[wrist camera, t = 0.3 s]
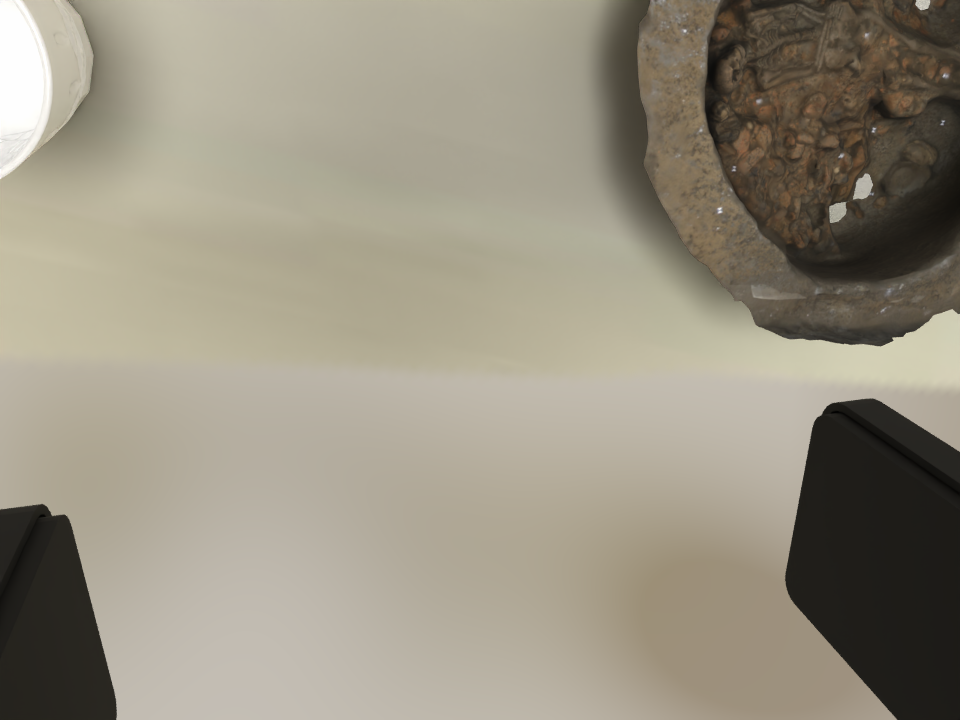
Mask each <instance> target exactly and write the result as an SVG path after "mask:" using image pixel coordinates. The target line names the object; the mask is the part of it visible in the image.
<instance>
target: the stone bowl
mask: <svg viewBox="0 0 960 720" xmlns="http://www.w3.org/2000/svg"><path fill="white" fill-rule="evenodd" d="M915 3H916V0H651V1H650V5H649V8H648V11H647V14H646V15H645V17H644V18H643V19H642V20H641V22H640V23H639V40H638V46H637V57H638V78H639V87H640V98H641V101H642V104H643V107H644V110H645V113H646V116H647V130H648V145H647V150H646V155H645V159H644V162H643V165H644V167H645V169H646V172H647V174H648V176H649V179H650V181H651V183H652V185H653V187H654V190H655V192H656V194H657V196H658V198H659V200H660V202H661V204H662V206H663V207H664V209H665V210H666V212H667V214H668V216H669V218H670V220H671V222H672V223H673V225H674V226H675V228H676V230H677V232H678V235H679V237H680V239H681V240H682V241H683V243H684V244H685V246H686V247H687V248H688V250H689V252H690V253H691V254H692V255H693V256H694V257H695V258H696V259H697V260H698V261H700V262H702V263H703V264H705V265H707V266H708V267H709V269H710V270H711V272H712V273H713V274H714V275H715V276H716V278H717V279H718V281H719V282H720V283H721V284H722V286H723V287H724V288H726V289H727V290H728V291H729V292H730V293H731V294H732V295H733V298H734V300H735V301H742V302H743V303H744V304H745V305H746V306H747V307H748V308H749V309H750V311H751V314H752V316H753V319H754V322H755V324H756V325H757V326H759V327H762V328H764V329H766V330H769V331H771V332H774V333H776V334H778V335H780V336H782V337H784V338H788V339H806V340H824V341H829V342H834V343H840V344H850V345H855V344H867V345H874V346H883V345H885V344H887V343H890V342H892V341H894V340H893V339H892V337H903V336H904V335H905V334H906V333H908V332H913V331H916V330H917V329H918V328H920V327H921V326H923V325H924V324H925V323H926V322H928V321H929V320H930V319H931V317H932V316H933V315H935V314H939V313H942V312H945V311H948V310H951V309H953V310H954V311H955V312H957V313H958V314H960V0H930V5H929V8H928V9H926V10H922V11H921V10H920V9H919V8H918V7H917V6H916V5H915ZM865 173H867V174H869V175H870V177H871V180H872V183H873V187H872V189H871V192H870V194H869V196H868V197H867V198H865V199H862V200H861V199H855V200H853V196H854V191H855V187H856V182H857V180H858V178H862V177H863V176H864V174H865ZM848 201H849V202H848ZM841 202H847V203H846V209H847V211H846V215H845V216H844V217H843V218H842V219H841V220H840V221H839V222H835V223H830V220H829V206H831V205H834V204H836V203H841Z"/></svg>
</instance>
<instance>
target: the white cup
mask: <svg viewBox="0 0 960 720" xmlns="http://www.w3.org/2000/svg"><path fill="white" fill-rule="evenodd" d="M93 59H94V54H93V51H92V48H91V45H90V42H89V39H88V36H87V33H86V30H85V27H84V24H83V21H82V18H81V16H80V15H79V14H78V13H77V11H76V10H75V9H74V8H73V7H72V6H71V5H70V3H69V2H68V1H67V0H0V179H1V178H3V177H5V176H6V175H8V174H9V173H11V172H12V171H13V170H15V169H16V168H17V167H18V166H19V165H20V164H22V163H23V162H24V161H25V160H26V159H27V158H29V157H30V156H31V155H32V154H33V153H35V152H36V151H37V150H38V149H39V148H41V147H42V146H43V145H44V144H46V143H47V142H48V141H49V140H50V139H51V138H52V137H53V136H54V135H55V134H56V133H57V132H58V131H59V130H60V129H61V128H62V127H63V126H64V125H65V124H66V123H67V122H68V121H69V119H70V118H71V117H72V115H73V114H74V112H75V110H76V109H77V108H78V106H79V105H80V104H81V102H82V101H83V100H84V98H85V97H86V96H87V94H88V93H89V91H90V84H91V75H92V67H93Z"/></svg>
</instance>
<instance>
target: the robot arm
mask: <svg viewBox="0 0 960 720" xmlns="http://www.w3.org/2000/svg"><path fill="white" fill-rule="evenodd" d="M785 581H786V587H787V591H788V594H789V595H790V598H791V600H792V601H793V602H794V604H795V605H796V606H797V607H798V608H799V609H800V611H801V612H802V613H803V614H804V615H805V616H806V617H807V619H808V620H810V622H811V623H812V624H813V625H814V626H815V628H816V629H817V630H818V631H819V632H820V633H821V634H822V635H823V636H824V638H825V639H826V640H827V641H828V642H829V643H830V644H831V645H832V646H833V648H834V649H835V650H836V651H837V652H838V653H839V654H840V656H841V657H842V658H843V659H844V660H845V661H846V662H847V663H848V665H849V666H850V667H851V668H852V669H853V670H854V671H855V672H856V674H857V675H858V676H859V677H860V678H861V679H862V680H863V682H864V683H865V684H866V685H867V686H868V687H869V688H870V689H871V691H873V693H874V694H875V695H876V696H877V697H878V698H879V699H880V701H881V702H882V703H883V704H884V705H885V706H886V707H887V708H888V710H889V711H890V712H891V713H892V714H893V715H894V716H895V717H896V719H897V720H960V452H959V451H957V450H956V449H954V448H953V447H951V446H950V445H948V444H946V443H945V442H943V441H942V440H940V439H939V438H937V437H935V436H934V435H932V434H931V433H929V432H928V431H926V430H924V429H923V428H921V427H920V426H918V425H917V424H915V423H913V422H912V421H910V420H909V419H907V418H905V417H904V416H902V415H901V414H899V413H898V412H896V411H894V410H893V409H891V408H890V407H888V406H887V405H885V404H883V403H882V402H880V401H878V400H875V399H861V400H853V401H846V402H837V403H832V404H830V405H829V406H827V407H826V409H825V410H824V411H823V414H822V415H821V416H820V417H817V419H816V420H815V422H814V425H813V428H812V433H811V439H810V444H809V450H808V455H807V460H806V466H805V471H804V477H803V482H802V487H801V493H800V498H799V504H798V509H797V515H796V520H795V525H794V531H793V537H792V542H791V547H790V553H789V558H788V563H787V569H786V575H785ZM116 711H117V710H116V698H115V694H114V689H113V685H112V681H111V677H110V674H109V670H108V666H107V662H106V658H105V654H104V650H103V646H102V643H101V639H100V635H99V631H98V627H97V623H96V619H95V615H94V612H93V608H92V604H91V600H90V596H89V592H88V589H87V584H86V581H85V577H84V573H83V569H82V565H81V561H80V557H79V553H78V549H77V546H76V542H75V538H74V534H73V530H72V527H71V523H70V521H69V519H68V517H67V516H66V515H57V516H52V515H51V512H50V511H49V510H48V508H47V506H45V505H43V504H40V505H32V506H25V507H16V508H9V509H1V510H0V720H116V717H117V712H116Z"/></svg>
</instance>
